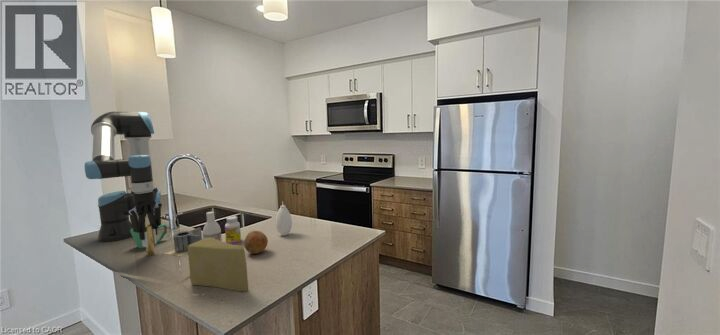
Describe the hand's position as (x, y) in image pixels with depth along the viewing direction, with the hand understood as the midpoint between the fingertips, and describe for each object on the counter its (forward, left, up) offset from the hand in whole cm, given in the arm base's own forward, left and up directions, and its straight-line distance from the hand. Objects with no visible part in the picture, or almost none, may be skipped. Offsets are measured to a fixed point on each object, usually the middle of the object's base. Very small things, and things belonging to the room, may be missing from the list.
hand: (149, 244), depth 132 cm
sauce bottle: (+41, +40, -6) cm, 58 cm away
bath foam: (+28, +7, -6) cm, 30 cm away
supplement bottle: (+24, +23, -6) cm, 34 cm away
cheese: (+49, -10, -6) cm, 51 cm away
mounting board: (+11, +10, -6) cm, 16 cm away
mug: (-12, +9, -6) cm, 16 cm away
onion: (+42, +17, -6) cm, 46 cm away
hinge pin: (0, 0, -5) cm, 5 cm away
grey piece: (+12, +12, -4) cm, 17 cm away
